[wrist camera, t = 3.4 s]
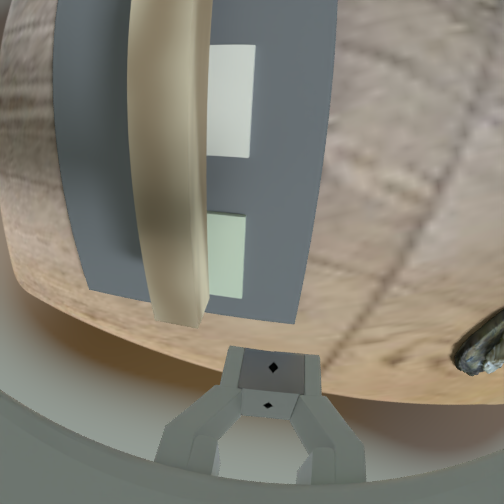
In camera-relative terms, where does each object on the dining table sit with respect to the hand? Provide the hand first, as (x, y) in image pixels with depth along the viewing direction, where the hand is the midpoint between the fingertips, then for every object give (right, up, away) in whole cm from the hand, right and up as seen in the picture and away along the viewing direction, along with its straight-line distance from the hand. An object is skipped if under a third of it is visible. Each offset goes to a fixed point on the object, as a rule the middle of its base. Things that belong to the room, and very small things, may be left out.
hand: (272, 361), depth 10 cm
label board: (-6, +11, +9) cm, 16 cm away
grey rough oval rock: (+28, -7, +16) cm, 33 cm away
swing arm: (-4, +11, +5) cm, 13 cm away
